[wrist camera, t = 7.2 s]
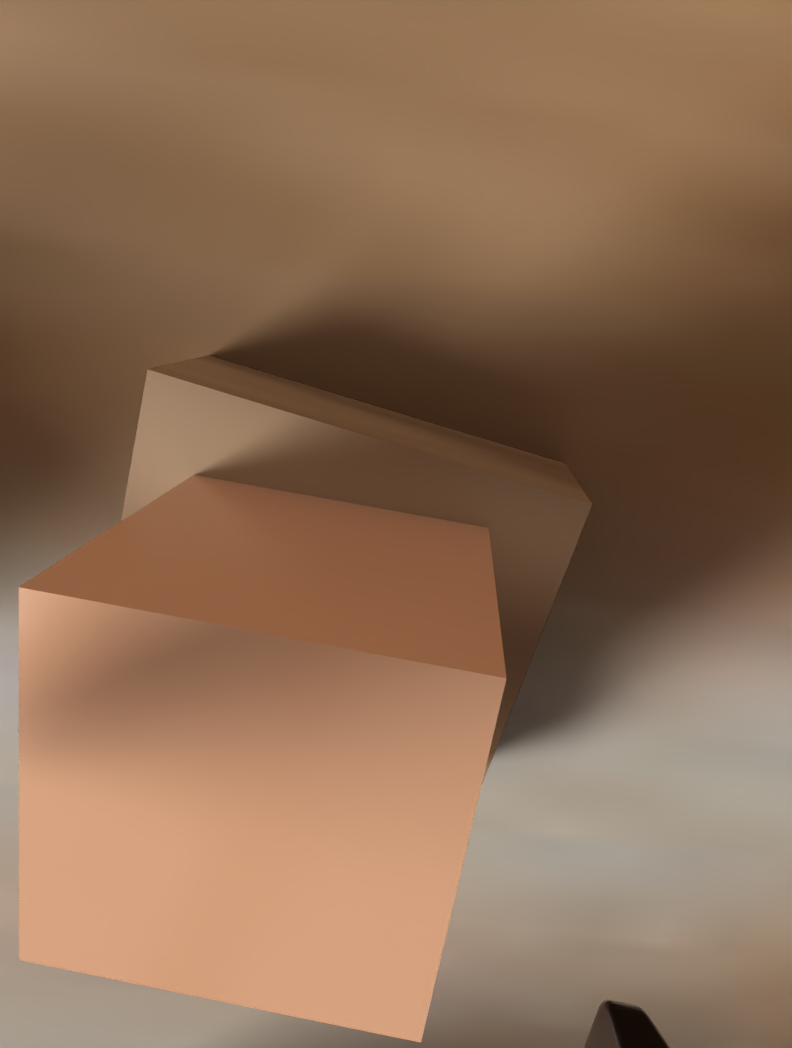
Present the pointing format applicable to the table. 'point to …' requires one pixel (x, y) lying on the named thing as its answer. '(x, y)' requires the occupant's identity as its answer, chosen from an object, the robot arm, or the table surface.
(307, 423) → the block
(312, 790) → the cube
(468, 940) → the table surface
